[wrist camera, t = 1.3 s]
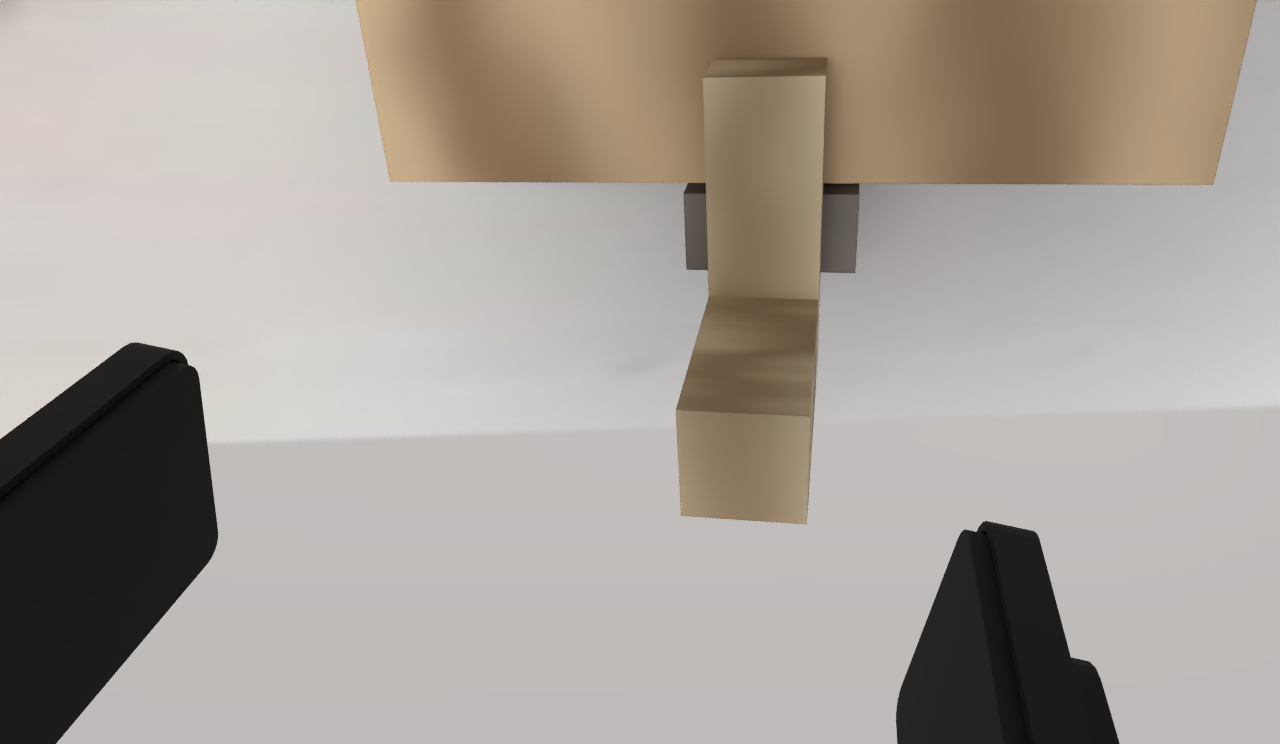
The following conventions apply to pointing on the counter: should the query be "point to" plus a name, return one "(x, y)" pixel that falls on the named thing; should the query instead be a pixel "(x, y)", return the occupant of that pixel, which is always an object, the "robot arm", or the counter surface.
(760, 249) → the bent tan strip
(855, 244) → the brown wooden box
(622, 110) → the lid
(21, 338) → the counter surface
